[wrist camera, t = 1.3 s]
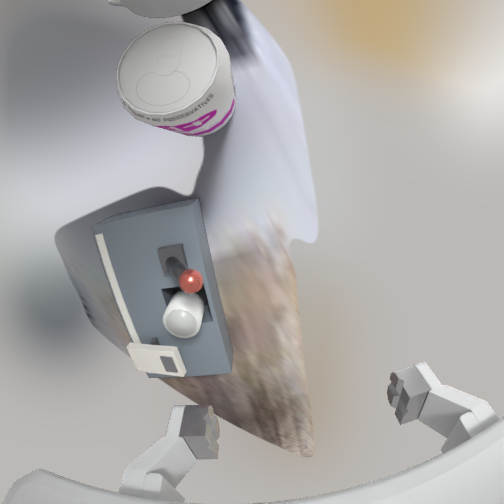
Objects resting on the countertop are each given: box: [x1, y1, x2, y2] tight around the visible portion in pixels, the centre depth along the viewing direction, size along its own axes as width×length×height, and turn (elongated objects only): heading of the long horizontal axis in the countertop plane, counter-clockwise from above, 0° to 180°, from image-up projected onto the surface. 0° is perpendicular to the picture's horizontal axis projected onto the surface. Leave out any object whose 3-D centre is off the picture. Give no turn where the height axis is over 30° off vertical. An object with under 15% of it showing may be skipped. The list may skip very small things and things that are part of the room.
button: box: [163, 290, 205, 338], centre depth 30 cm, size 4×4×4 cm
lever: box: [165, 257, 203, 294], centre depth 25 cm, size 2×2×7 cm
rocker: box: [126, 343, 187, 377], centre depth 31 cm, size 4×7×1 cm, turn 99°
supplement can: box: [117, 22, 236, 137], centre depth 21 cm, size 8×8×15 cm
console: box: [91, 198, 233, 378], centre depth 33 cm, size 22×12×6 cm, turn 9°
